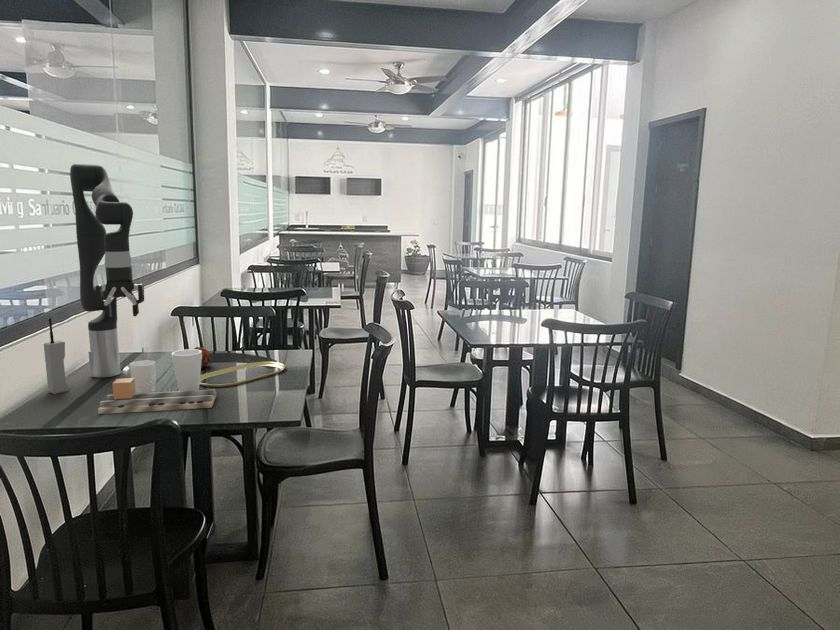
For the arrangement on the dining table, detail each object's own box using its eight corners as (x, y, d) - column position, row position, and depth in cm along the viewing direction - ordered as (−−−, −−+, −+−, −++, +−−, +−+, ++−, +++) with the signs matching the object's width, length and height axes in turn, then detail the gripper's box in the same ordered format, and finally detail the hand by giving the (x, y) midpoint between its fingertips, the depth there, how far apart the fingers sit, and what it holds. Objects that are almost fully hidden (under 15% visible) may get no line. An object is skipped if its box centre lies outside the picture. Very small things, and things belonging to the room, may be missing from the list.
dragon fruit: (205, 374, 228) (190, 373, 236) (220, 358, 233) (205, 357, 241) (189, 358, 224) (176, 358, 232) (205, 342, 228) (191, 342, 237)
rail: (98, 414, 178) (97, 404, 177) (110, 401, 189) (109, 392, 189) (211, 407, 184) (211, 398, 183) (216, 396, 196) (216, 387, 195)
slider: (114, 404, 181) (112, 383, 180) (118, 399, 186) (117, 378, 185) (131, 403, 182) (130, 382, 181) (136, 398, 187) (134, 377, 186)
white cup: (147, 396, 195) (145, 366, 193) (126, 395, 196) (123, 365, 195) (162, 389, 203) (160, 360, 201) (141, 388, 204) (139, 359, 202)
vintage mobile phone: (69, 390, 201) (62, 317, 197) (53, 394, 197) (46, 319, 193) (64, 388, 203) (57, 316, 199) (48, 392, 199) (40, 318, 195)
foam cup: (179, 386, 207) (177, 349, 204) (207, 385, 207) (204, 349, 205) (170, 394, 197) (167, 355, 195) (198, 393, 198) (196, 355, 196)
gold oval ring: (185, 383, 212) (184, 378, 212) (262, 363, 240) (262, 359, 240) (218, 392, 202) (218, 387, 201) (295, 370, 230) (295, 366, 230)
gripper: (145, 264, 197) (148, 314, 199) (97, 264, 194) (102, 315, 196) (139, 266, 189) (143, 317, 192) (90, 266, 186) (94, 319, 189)
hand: (122, 316), depth 194 cm, fingers open, 7 cm apart
